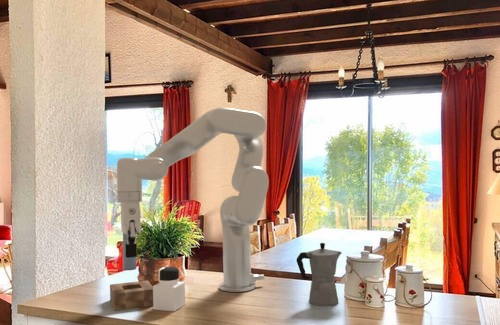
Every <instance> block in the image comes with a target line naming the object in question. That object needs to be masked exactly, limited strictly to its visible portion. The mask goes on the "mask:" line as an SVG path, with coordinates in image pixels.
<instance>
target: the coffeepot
mask: <svg viewBox="0 0 500 325" xmlns="http://www.w3.org/2000/svg"><path fill="white" fill-rule="evenodd" d="M319 246H320V247H319V248H318V249H313V250H310V251H303V252H300V253H299V255H298V256H297V257H296V263H297V266H298V269H299V273H300V275H301V277H302V279H303V280H309V279H310V276H309V275H306V270H305V267H304V262H303V259H308V260H309V266H310V273H311V276H312V277H311V278H312V279H311V283H310V292H309V297H308V300H309V301H308V302H310V304H312V305H316V306H323V307H324V306H325V307H327V306H335V305H337V304H339V297H338V296H339V295H338V292H337V286H336V285H337V284H336V281H335V275H336V271H337V263H338V259H339V257H340V256H341V255H342V252H341V251H339V250H338V251H337V250H333V249H327V248H326V243H325V242H321V243H319Z"/></svg>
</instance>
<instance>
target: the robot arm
mask: <svg viewBox="0 0 500 325" xmlns="http://www.w3.org/2000/svg"><path fill="white" fill-rule="evenodd" d="M266 129H267V122H266V119H265V117H264V116H263V115H262V114H260V113H258V112H256V111H250V110H242V109H236V108H230V107H223V106H222V107H216V108H214V109H211V110H208V111H207V112H205V113H204V114H202V115H201V116H199V117H198V118H197V119H196V120H195V121H193V122H191V123H190V124H189V125H188V126H186V127H185V128H184V129H182V130H181V131H179V132H178V133H176V134H175V135H173V137H171V138H170V139H169V140H167V141H166V142H164V143H163V144H161V145H160V146H158V147H157V148H156V149H155V150H153V151H152V152H151V153H149V154H148V155H146V156H144V158H139V157H120V158H118V160H117V162H116V163H117V164H116V170H117V171H116V174H117V175H116V177H117V178H116V182H117V183H116V190H117V192H116V194H117V195H116V197H117V200H116V202H117V203H120V224H121V226H120V228H121V233H122V234H123V233H124V234H126V241H127V244H126V258H130V257H136V258H137V234H138V235H140V234H141V233H142V226H141V223H142V222H141V221H142V220H141V207H140V206H141V205H140V203H142V202H143V180H146V181H153V182H157V181H161V180H163V179H164V178H166V177H167V175H168V172H169V167H171V166H172V165H174V164H176V163H177V162H179V161H180V160H183V159H186V158H189V157H190V156H192V155H194V154H196V153H198V151H200V150H201V149H202V148H204V147H205V146H206V145H207V144H209V142H211V141H213V140H214V139H215V138H216V137H217V136H219V135H221V134H228V135H232V136H234V138H235V139H236V141H237V143H238V148H239V149H238V150H239V151H238V155H237V159H236V161H235V162H236V163H235V166H234V170H233V173H232V176H231V186H232V188H233V189H234V190H235V191H236V192H238V195H231V196H228V197H226V198H225V199H224V200H223V201H222V203H221V205H220V208H219V214H220V216H219V217H220V222H221V229H222V230H221V231H222V266H223V267H222V268H223V282H220V283H219V284H218V285H219V286H218V287H219V290H221V291H223V292H228V293H229V292H230V293H245V292H248V291H252V290H254V289H256V287H257V285H256V281H263V280H264V281H265V274H257V273H256V274H254V273H252V264H251V263H252V262H251V261H252V259H251V258H252V257H251V255H252V254H251V253H252V252H251V230H250V227H251V226H253V225H255V224H256V223H257V222H258V221H259V219H260V217H261V214H262V211H263V209H264V204H265V201H266V198H267V193H268V189H269V183H270V181H269V180H270V179H269V175H268V174H267V172H266V170H265V169H264V168H263V167H261V166H262V162H263V157H264V146H263V142H262V139H261V137H260V136H263V134H264V133H265V132H266ZM128 232H130V234H128ZM129 236H130V237H129Z"/></svg>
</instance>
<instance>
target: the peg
mask: <svg viewBox="0 0 500 325" xmlns="http://www.w3.org/2000/svg"><path fill="white" fill-rule="evenodd" d="M128 234H130V232H128ZM129 237H130V236H129ZM126 244H127V241H126V234H124V233H123V232H122V270H123V271H134V270H137V256H136V257H130V258H126Z"/></svg>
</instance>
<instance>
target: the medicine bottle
mask: <svg viewBox="0 0 500 325" xmlns="http://www.w3.org/2000/svg"><path fill="white" fill-rule="evenodd" d="M152 286H153V306H152V307H153V308H152V309H153V310H154V311H165V312H176V311H177V310H180V308H182V307H183V306H185V305H186V287H185V286H186V284H185V282H184V281H180V269H179V267H176V266H170V265H169V266H163V267H161V268H159V269H158V283H157V284H154V285H152Z"/></svg>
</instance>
